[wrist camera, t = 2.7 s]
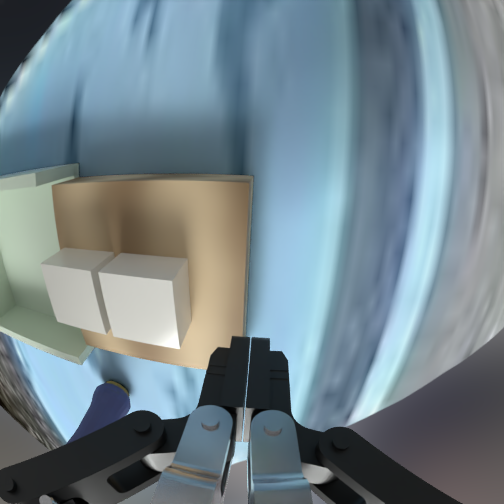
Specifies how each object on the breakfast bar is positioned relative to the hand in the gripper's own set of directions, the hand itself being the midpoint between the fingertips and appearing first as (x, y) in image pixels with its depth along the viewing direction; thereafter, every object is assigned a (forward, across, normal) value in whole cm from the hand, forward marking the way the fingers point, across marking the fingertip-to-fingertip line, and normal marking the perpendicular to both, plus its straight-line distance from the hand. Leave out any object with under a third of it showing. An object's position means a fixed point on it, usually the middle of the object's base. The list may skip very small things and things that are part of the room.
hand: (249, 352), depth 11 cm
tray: (+8, +19, 0) cm, 20 cm away
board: (+7, +6, 0) cm, 10 cm away
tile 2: (+4, +10, 0) cm, 11 cm away
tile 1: (+4, +6, 0) cm, 7 cm away
